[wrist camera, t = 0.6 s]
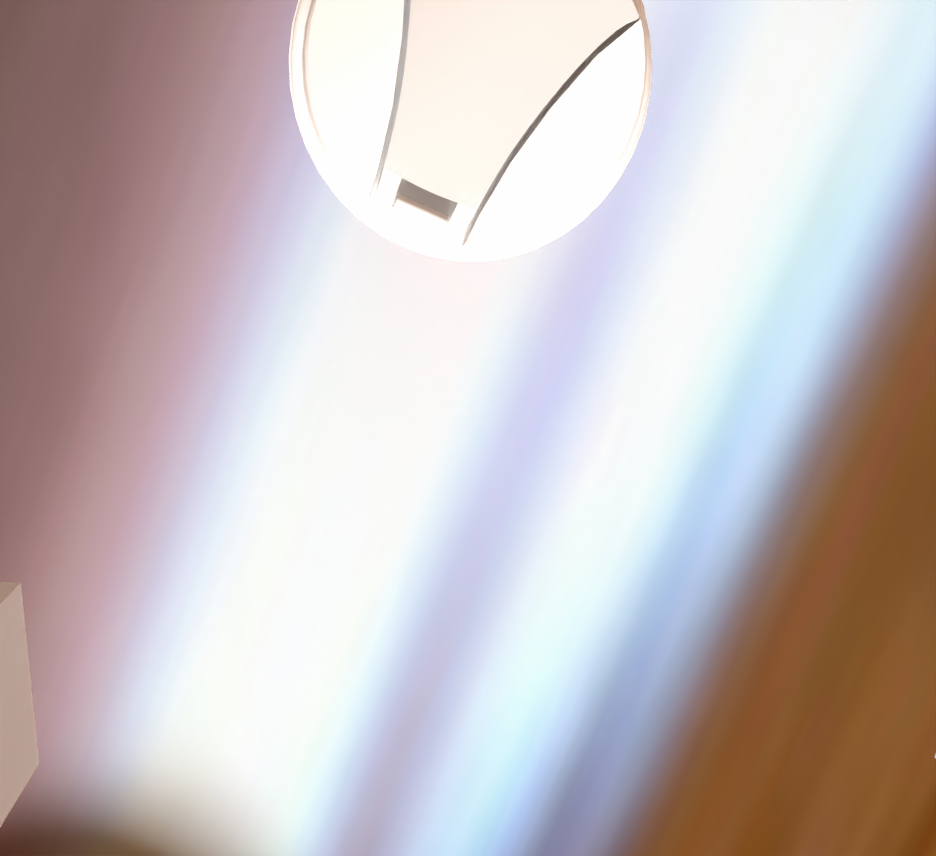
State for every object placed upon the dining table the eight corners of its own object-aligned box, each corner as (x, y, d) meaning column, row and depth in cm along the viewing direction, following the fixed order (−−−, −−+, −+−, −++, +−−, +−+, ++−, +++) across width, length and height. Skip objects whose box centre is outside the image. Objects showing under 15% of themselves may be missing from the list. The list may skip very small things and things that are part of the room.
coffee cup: (495, 262, 34) (570, 323, 19) (301, 177, 32) (225, 175, 18) (584, 56, 32) (742, -46, 17) (382, -45, 30) (371, -250, 16)
